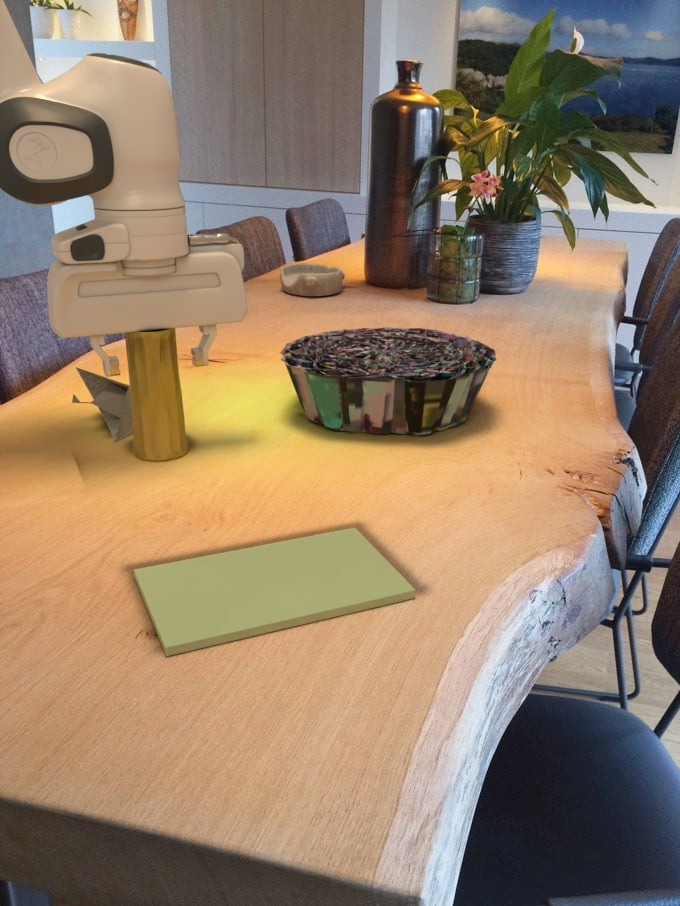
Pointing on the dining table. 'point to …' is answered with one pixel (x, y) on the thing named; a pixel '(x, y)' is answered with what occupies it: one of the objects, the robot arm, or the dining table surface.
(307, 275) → the dish
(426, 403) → the decorative bowl
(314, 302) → the dining table surface
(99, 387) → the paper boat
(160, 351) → the vase
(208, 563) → the mat
